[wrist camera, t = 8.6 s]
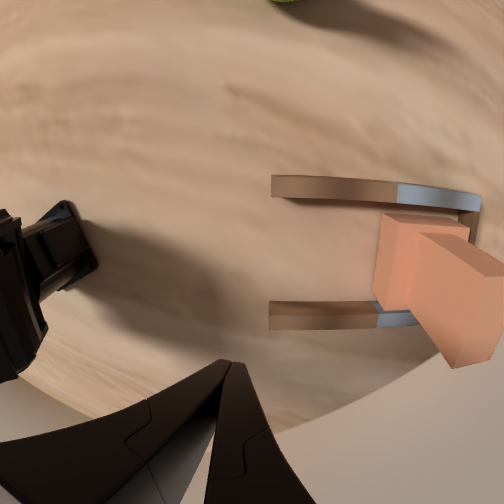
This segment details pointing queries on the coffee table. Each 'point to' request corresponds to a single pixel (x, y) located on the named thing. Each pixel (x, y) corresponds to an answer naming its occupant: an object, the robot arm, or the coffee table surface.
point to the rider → (441, 284)
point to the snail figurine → (283, 0)
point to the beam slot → (365, 190)
